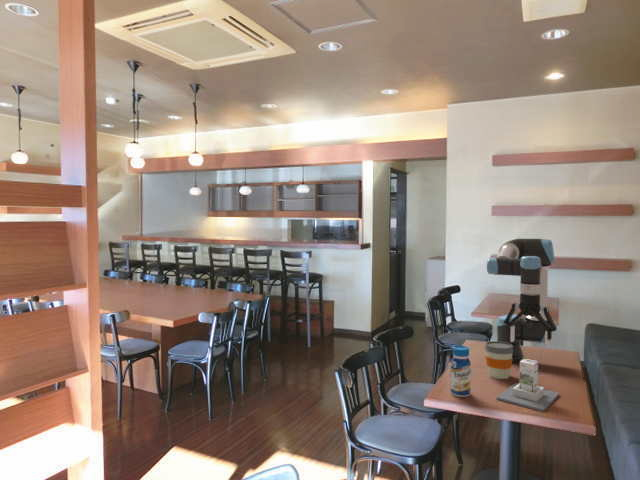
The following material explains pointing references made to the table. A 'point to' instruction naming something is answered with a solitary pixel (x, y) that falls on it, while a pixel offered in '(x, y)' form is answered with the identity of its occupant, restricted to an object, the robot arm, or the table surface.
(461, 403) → the table surface
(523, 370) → the syrup box
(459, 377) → the beverage bottle
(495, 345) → the reusable coffee cup
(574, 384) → the table surface
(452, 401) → the table surface
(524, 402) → the keeper board
